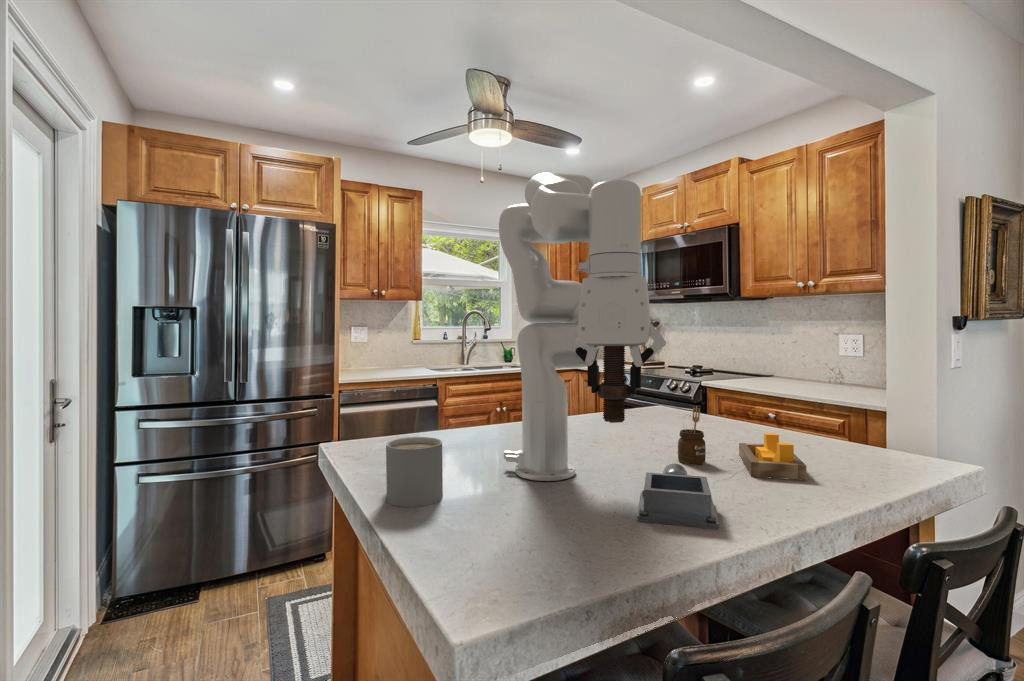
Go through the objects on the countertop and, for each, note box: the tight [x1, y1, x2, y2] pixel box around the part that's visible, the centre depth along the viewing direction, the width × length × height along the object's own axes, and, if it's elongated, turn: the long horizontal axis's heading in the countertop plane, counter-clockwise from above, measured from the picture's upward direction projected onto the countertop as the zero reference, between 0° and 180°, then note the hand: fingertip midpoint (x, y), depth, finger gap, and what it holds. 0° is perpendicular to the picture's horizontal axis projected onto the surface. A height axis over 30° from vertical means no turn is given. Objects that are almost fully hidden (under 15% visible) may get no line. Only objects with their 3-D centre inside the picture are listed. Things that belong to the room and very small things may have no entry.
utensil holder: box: [677, 406, 707, 466], centre depth 115 cm, size 6×6×12 cm
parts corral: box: [738, 442, 807, 481], centre depth 110 cm, size 10×18×3 cm, turn 163°
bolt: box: [597, 322, 632, 424], centre depth 74 cm, size 6×5×15 cm
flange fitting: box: [636, 463, 720, 530], centre depth 87 cm, size 12×18×5 cm, turn 163°
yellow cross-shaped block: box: [756, 432, 795, 463], centre depth 110 cm, size 12×4×6 cm, turn 168°
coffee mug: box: [385, 436, 444, 508], centre depth 93 cm, size 13×10×10 cm
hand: (614, 391), depth 74 cm, fingers closed on bolt, 4 cm apart
